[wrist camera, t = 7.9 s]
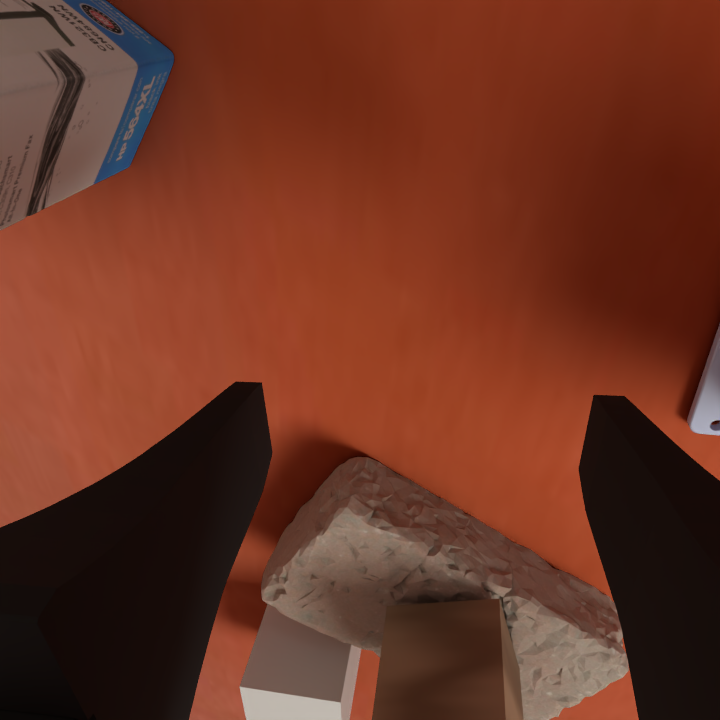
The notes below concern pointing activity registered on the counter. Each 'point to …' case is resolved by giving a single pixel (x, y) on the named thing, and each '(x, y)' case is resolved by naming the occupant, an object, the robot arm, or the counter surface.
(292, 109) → the counter surface
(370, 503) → the brick
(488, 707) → the walnut block
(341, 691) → the grey block
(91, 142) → the ink box
